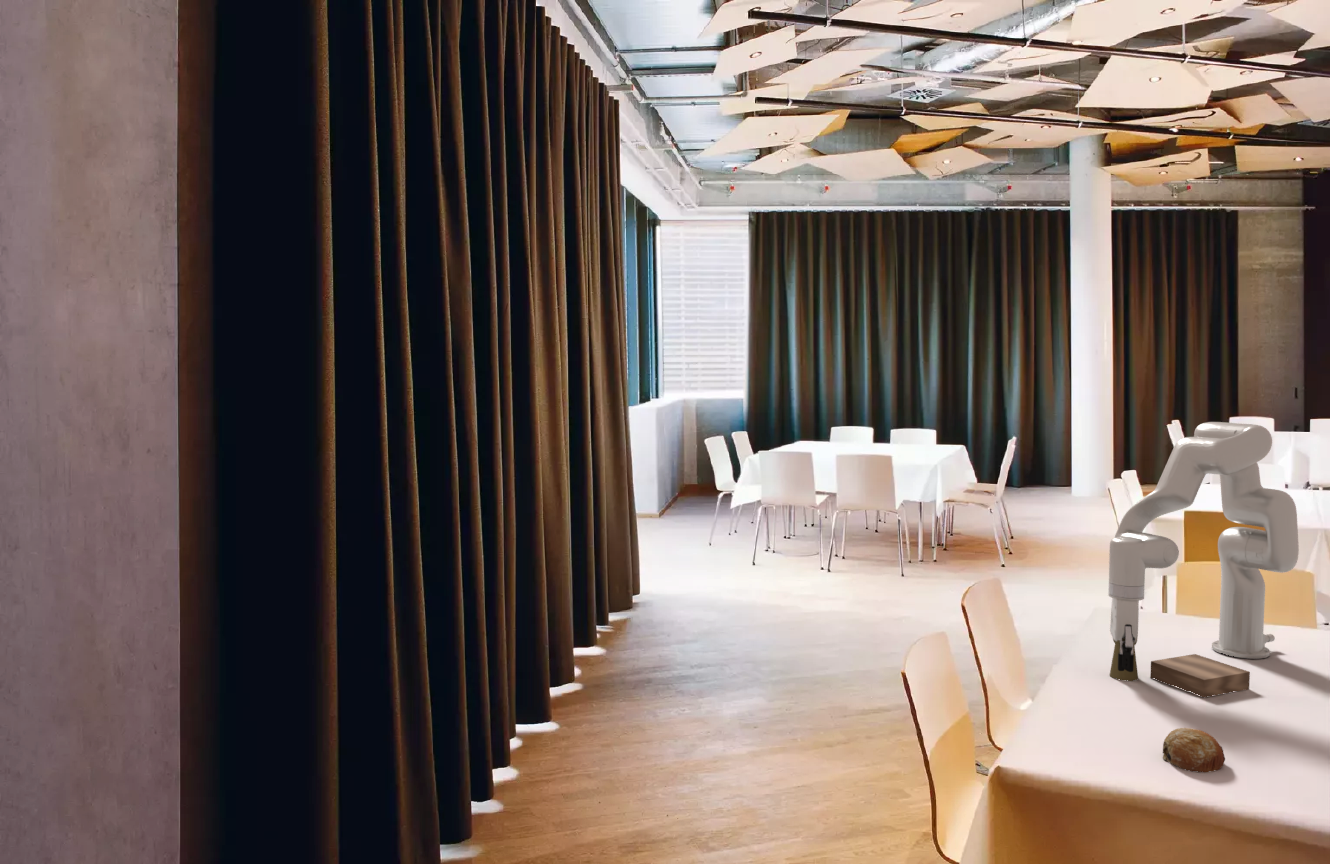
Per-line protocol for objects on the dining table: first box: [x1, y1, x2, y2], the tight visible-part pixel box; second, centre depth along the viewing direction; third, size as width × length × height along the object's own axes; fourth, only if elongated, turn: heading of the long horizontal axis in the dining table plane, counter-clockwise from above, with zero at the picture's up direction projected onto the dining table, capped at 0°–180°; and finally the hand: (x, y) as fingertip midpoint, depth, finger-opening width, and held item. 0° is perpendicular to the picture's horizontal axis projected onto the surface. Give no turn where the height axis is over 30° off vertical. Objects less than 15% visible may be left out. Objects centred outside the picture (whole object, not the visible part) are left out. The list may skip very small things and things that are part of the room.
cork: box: [1109, 637, 1139, 682], centre depth 223 cm, size 6×6×11 cm
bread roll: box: [1162, 727, 1226, 773], centre depth 177 cm, size 10×10×8 cm
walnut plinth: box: [1150, 653, 1251, 698], centre depth 218 cm, size 14×14×4 cm
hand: (1124, 666), depth 223 cm, fingers closed on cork, 4 cm apart
